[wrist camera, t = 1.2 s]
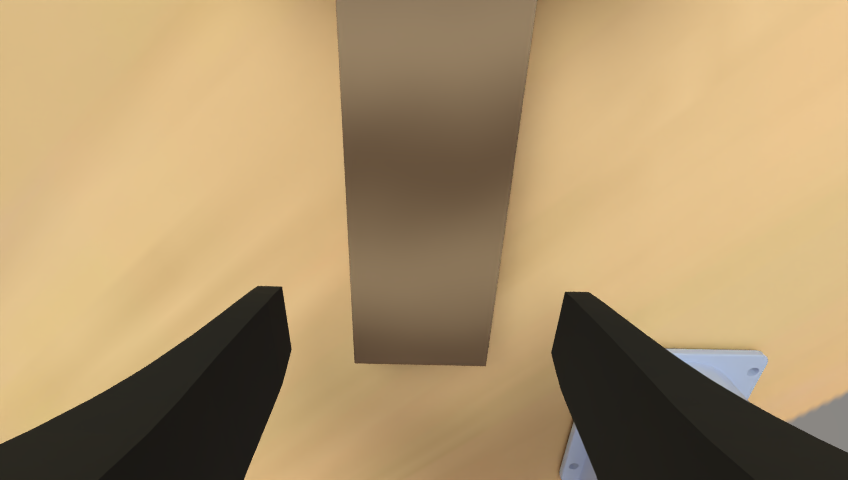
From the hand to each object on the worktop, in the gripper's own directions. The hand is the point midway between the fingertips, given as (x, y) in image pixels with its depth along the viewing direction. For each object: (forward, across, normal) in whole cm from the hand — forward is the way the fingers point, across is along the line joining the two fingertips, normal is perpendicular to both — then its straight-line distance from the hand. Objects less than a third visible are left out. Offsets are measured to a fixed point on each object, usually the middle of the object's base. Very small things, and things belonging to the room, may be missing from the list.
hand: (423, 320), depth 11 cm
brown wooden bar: (+6, 0, -3) cm, 7 cm away
